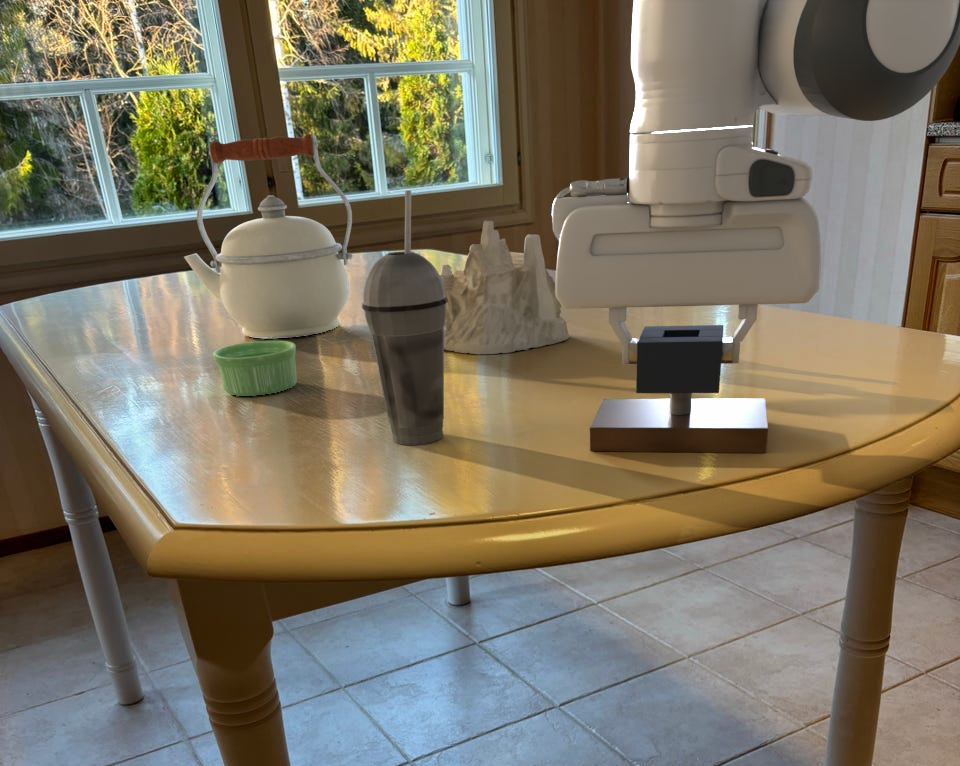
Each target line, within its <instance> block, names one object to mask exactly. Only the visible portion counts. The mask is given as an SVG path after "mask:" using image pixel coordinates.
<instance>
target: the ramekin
mask: <svg viewBox="0 0 960 766" xmlns="http://www.w3.org/2000/svg"><path fill="white" fill-rule="evenodd" d="M296 350H297V346H296V344H295V343H294V342H292V341H289V340H259V341H258V340H257V341H250V342H242V343H237V344H233V345H231V344H230V345H228V346H224V347H221V348H219V349H217V350H215V351H214V352H213V353H212V355H213V359H214V361H215V363H216V364H217V368H218V372H219V376H220V379H221V382H222V386H223V389H224V392H225V393H227V394H228V395H230V394H231V396H233V395H236V396H235V397H239V396H253V397H257V396H256V395H263V396H266V395H265V394H269V395H272V394H271V393H275V392H279V391H283V392H285V391H284V390H286V389H288V390H290V389H289V388H291V389H292V388H294V387H295V386H296V385H297V382H298V380H297V379H298V378H297V377H298V376H297V364H296ZM293 386H294V387H293ZM286 391H287V390H286ZM279 393H280V392H279ZM275 394H276V393H275Z"/></svg>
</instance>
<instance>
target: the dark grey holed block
mask: <svg viewBox="0 0 960 766" xmlns="http://www.w3.org/2000/svg"><path fill="white" fill-rule="evenodd" d="M723 338H724V325H723V324H715V325H714V324H707V325H705V324H703V325H702V324H701V325H653V326H652V325H650V326H647V325H646V326H643V329H642V330H641V334H640V336H639V338H638V339H639V340H638V342H637V364H636V375H635V377H636V380H635V382H636V383H635V393H636V394H670V393H692V394H720V384H721V372H722V371H721V370H722V364H721V355H722V340H723Z"/></svg>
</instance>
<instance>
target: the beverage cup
mask: <svg viewBox="0 0 960 766" xmlns="http://www.w3.org/2000/svg"><path fill="white" fill-rule="evenodd" d="M411 246H412V190H405V191H404V251H393V252H389V253H386V254H384V255H383V256H381V257H380V258H378V259H377V260H376V261H375V262H374V263H373V265H372V266H371V267H370V269H369V271H368V272H367V274H366V277H365V278H364V282H363V287H362V303H361V309H362V310H363V311H364V317H365V321H366V324H367V327H368V331H369V333H370V335H371V338H372V339H371V340H372V343H373V349H374V354H375V361H376V364H377V369H378V374H379V380H380V385H381V389H382V395H383V400H384V404H385V410H386V414H387V420H388V423H389V427H390V430H391V435H392V441H393V442H394V443H396V444H399V445H403V446H419V445H427V444H430V443H431V444H432V443H435V442H438V441H439V440H441V439H442V438H443V436H444V431H443V428H444V418H445V394H444V393H445V361H444V360H445V349H444V326H445V321H446V303H447V302H448V299H447V296H446V294H445V288H444V285H443V281H442V279H441V277H440V275H441V274H440V273H439V272H438V270H437V268H436V267H435V266H434V265H433V263H432V262H430V261H429V260H428V259H427V258H426V257H424V256H422V255H421V254H419V253H417V252H414V251H412V250H411V249H412V247H411Z"/></svg>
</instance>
